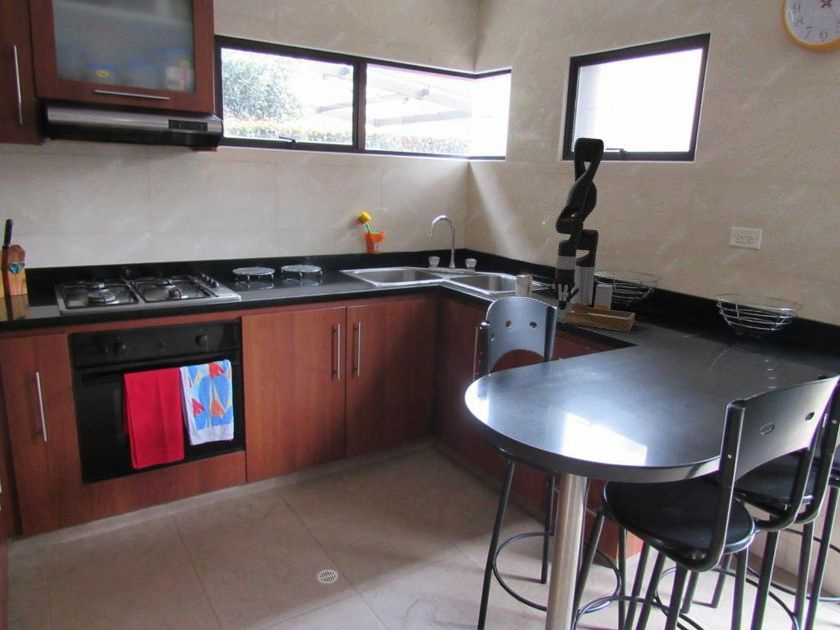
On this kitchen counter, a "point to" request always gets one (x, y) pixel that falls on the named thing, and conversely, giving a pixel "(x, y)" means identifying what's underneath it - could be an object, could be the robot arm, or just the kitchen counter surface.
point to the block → (581, 308)
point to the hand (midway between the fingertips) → (562, 309)
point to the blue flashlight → (523, 285)
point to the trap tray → (602, 319)
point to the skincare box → (603, 296)
